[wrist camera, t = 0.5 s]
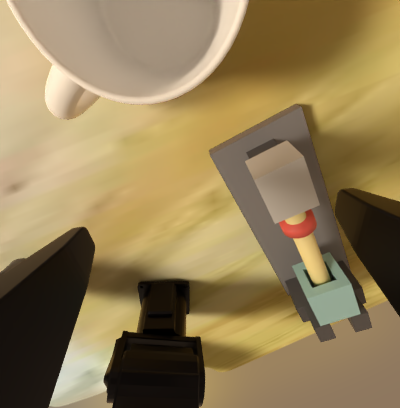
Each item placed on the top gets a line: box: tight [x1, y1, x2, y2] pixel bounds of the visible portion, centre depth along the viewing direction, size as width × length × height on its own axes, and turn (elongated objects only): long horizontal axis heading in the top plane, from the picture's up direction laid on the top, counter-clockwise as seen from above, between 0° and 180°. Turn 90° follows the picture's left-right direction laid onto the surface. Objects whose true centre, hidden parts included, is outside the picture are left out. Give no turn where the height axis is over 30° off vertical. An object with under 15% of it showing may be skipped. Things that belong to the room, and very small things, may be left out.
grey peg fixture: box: [209, 104, 372, 342], centre depth 23 cm, size 22×8×8 cm, turn 29°
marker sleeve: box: [292, 252, 360, 326], centre depth 24 cm, size 5×4×4 cm
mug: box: [6, 0, 249, 120], centre depth 13 cm, size 12×8×10 cm
